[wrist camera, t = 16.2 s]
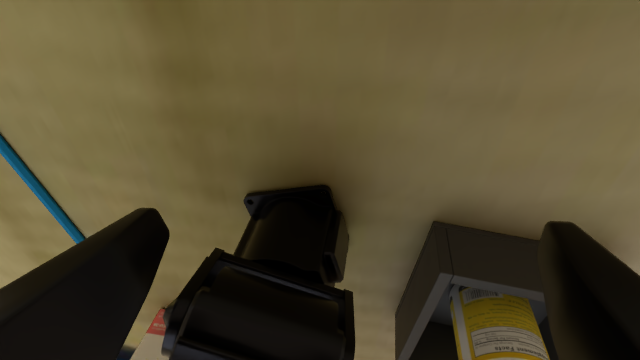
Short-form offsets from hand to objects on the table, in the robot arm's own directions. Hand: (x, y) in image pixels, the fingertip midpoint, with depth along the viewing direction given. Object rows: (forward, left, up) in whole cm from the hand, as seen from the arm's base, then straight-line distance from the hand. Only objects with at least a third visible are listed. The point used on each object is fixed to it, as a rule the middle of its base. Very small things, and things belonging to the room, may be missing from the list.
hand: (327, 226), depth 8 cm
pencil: (-28, -4, -13) cm, 31 cm away
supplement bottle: (+6, -20, -13) cm, 24 cm away
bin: (+6, -20, -13) cm, 24 cm away
